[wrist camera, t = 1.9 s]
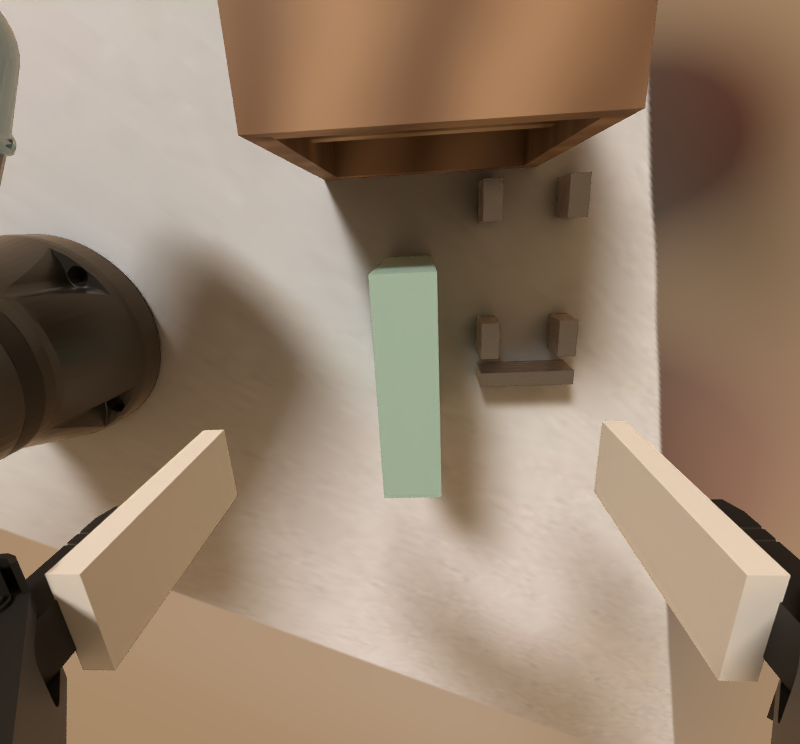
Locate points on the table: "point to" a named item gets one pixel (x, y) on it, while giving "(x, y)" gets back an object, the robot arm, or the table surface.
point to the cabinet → (432, 80)
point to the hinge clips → (561, 325)
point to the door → (407, 374)
